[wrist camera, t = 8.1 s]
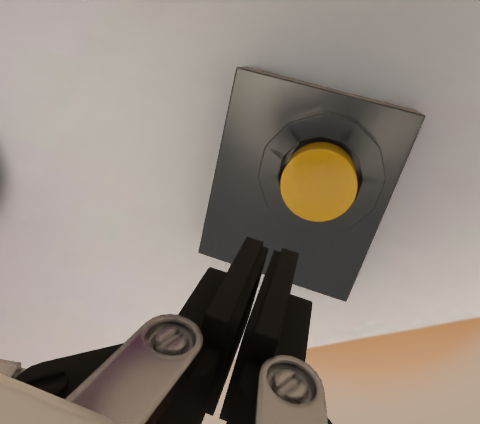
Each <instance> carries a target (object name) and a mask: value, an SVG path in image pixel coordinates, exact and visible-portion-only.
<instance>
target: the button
mask: <svg viewBox="0 0 480 424" xmlns="http://www.w3.org/2000/svg"><path fill="white" fill-rule="evenodd" d="M357 189H358V182H357V175H356V169H355V166H354V163H353V161H352V159H351V157H350V156H349V155H348V153H347V152H346V151H344V150H343V149H342V148H340V147H339V146H337V145H335V144H332V143H328V142H314V143H310V144H307V145H304V146H302V147H301V148H299V149H298V150H297V151H296V152H295V153H294V154H293V155H292V156H291V157H290V159H289V161H288V163H287V165H286V167H285V168H284V170H283V173H282V176H281V180H280V191H281V195H282V198H283V200H284V202H285V204H286V205H287V207H288V208H289V209H290V210H291V211H292V212H293V213H294V214H296V215H297V216H299V217H301V218H303V219H306V220H309V221H315V222H323V221H329V220H332V219H335V218H337V217H339V216H341V215H342V214H343V213H345V212H346V211H347V210H348V209H349V208H350V206H351V205H352V203H353V202H354V200H355V197H356V194H357Z"/></svg>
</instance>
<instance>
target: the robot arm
mask: <svg viewBox="0 0 480 424" xmlns="http://www.w3.org/2000/svg"><path fill="white" fill-rule="evenodd" d="M263 243H264V242H263V241H260V240H257V239H254V238H251V237H248V236H247V237H246V239H245V241H244V243H243V244H242V246H241V248H240V250H239V252H238V254H237V255H236V257H235V259H234V261H233V263H232V264H231V266H230V268H229V270H228V272H227V273H226V272H223V271H220V270H217V269H214V268H211V267H210V268H209V269H208V270H207V271H206V273H205V274H204V276H203V277H202V279H201V280H200V282H199V284H198V285H197V287H196V288H195V290H194V291H193V293H192V294H191V296H190V297H189V299H188V300H187V302H186V304H185V305H184V307H183V308H182V310H181V311H180V313H179V314H178V315H172V314H168V315H160V316H157V317H154V318H152V319H151V320H149V321H148V322H146V323H145V324H144V325H143V326H142V327H141V328H140V329H139V330H138V331H137V332H135V333H134V334H133V335H132V336H131V337H130V338H129V339H128V340H127V341H126V342H125V343H123V344H119V345H115V346H110V347H106V348H102V349H98V350H93V351H89V352H85V353H80V354H76V355H72V356H68V357H63V358H59V359H55V360H50V361H46V362H42V363H39V364H37V365H34V366H31V367H29V368H28V369H23V368H21V363H20V362H14V361H8V360H2V359H0V424H201V423H202V421H203V418H204V415H205V413H207V414H210V415H213V414H214V412H215V409H216V406H217V403H218V401H219V398H220V395H221V392H222V390H223V387H224V384H225V382H226V379H227V376H228V373H229V371H230V368H231V365H232V362H233V360H234V357H235V354H236V352H237V349H238V346H239V343H240V341H241V338H242V335H243V333H244V336H243V339H242V342H241V346H240V349H239V352H238V356H237V359H236V363H235V366H234V369H233V373H232V376H231V380H230V383H229V387H228V390H227V393H226V397H225V400H224V404H223V408H222V410H221V414H220V417H219V418H220V419H222V420H225V421H227V423H226V424H332V423H331V421H330V420H329V419H328V418H327V410H326V401H325V393H324V387H323V384H322V380H321V379H320V377H319V376H318V374H317V372H316V371H315V370H314V369H313V368H312V367H311V366H310V365H308V364H307V363H305V358H306V350H307V342H308V334H309V326H310V318H311V310H312V302H311V301H308V300H305V299H303V298H300V297H297V296H294V295H291V294H290V291H291V287H292V283H293V278H294V274H295V269H296V265H297V261H298V256H299V253H297V252H294V251H291V250H288V249H285V248H282V250H281V252H279V251H276V250H274V252H273V255H272V257H271V260H270V263H269V265H268V268H267V271H266V274H265V276H264V279H263V282H262V285H261V287H260V290H259V293H258V296H257V298H256V301H255V304H254V307H253V309H252V312H251V315H250V311H251V308H252V305H253V301H254V298H255V294H256V291H257V288H258V284H259V281H260V277H261V274H262V271H263V267H264V264H265V260H266V257H267V253H268V250H269V248H267V247H264V246H263ZM249 315H250V318H249ZM248 318H249V320H248ZM247 321H248V323H247ZM246 324H247V326H246ZM245 327H246V329H245ZM244 330H245V332H244Z"/></svg>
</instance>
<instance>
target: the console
mask: <svg viewBox="0 0 480 424" xmlns="http://www.w3.org/2000/svg"><path fill="white" fill-rule="evenodd" d="M424 118H425V115H423V114H421V113H420V112H418V111H416V110H413V109H409V108H405V107H401V106H397V105H393V104H389V103H385V102H382V101H378V100H374V99H370V98H366V97H362V96H358V95H354V94H350V93H346V92H343V91H339V90H335V89H331V88H327V87H323V86H319V85H315V84H311V83H308V82H304V81H300V80H296V79H292V78H288V77H284V76H280V75H276V74H272V73H269V72H265V71H261V70H257V69H253V68H249V67H237V68H236V73H235V78H234V82H233V87H232V92H231V97H230V102H229V107H228V111H227V116H226V121H225V126H224V131H223V136H222V141H221V145H220V150H219V155H218V160H217V165H216V170H215V175H214V179H213V184H212V189H211V194H210V199H209V204H208V209H207V213H206V218H205V223H204V228H203V233H202V238H201V242H200V247H199V253H201V254H204V255H207V256H210V257H213V258H216V259H219V260H222V261H225V262H228V263H231V264H232V263H233V261H234V259H235V257H236V255H237V254H238V252H239V250H240V248H241V246H242V244H243V243H244V241H245V239H246V237H247V236H248V237H251V238H254V239H257V240H260V241H263V242H264V243H263V246H264V247H267V248H269V250H268V253H267V257H266V260H265V264H264V267H263V271H262V274H264V275H265V274H266V271H267V268H268V265H269V263H270V260H271V257H272V255H273V252H274V250H276V251H279V252H281V250H282V248H285V249H288V250H291V251H294V252H297V253H299V256H298V261H297V265H296V269H295V274H294V278H293V283H292V284H294V285H297V286H300V287H303V288H306V289H309V290H312V291H315V292H318V293H321V294H324V295H327V296H330V297H333V298H337V299H340V300H343V301H347V299H348V297H349V294H350V292H351V289H352V287H353V285H354V282H355V280H356V278H357V275H358V273H359V271H360V268H361V266H362V264H363V261H364V259H365V257H366V254H367V252H368V250H369V247H370V245H371V243H372V240H373V238H374V236H375V233H376V231H377V229H378V226H379V224H380V221H381V219H382V217H383V214H384V212H385V210H386V207H387V205H388V203H389V200H390V198H391V196H392V193H393V191H394V189H395V186H396V184H397V182H398V179H399V177H400V175H401V172H402V170H403V168H404V165H405V163H406V161H407V158H408V156H409V153H410V151H411V149H412V146H413V144H414V142H415V139H416V137H417V135H418V132H419V130H420V128H421V125H422V123H423V121H424ZM314 142H328V143H332V144H335V145H337V146H339V147H340V148H342V149H343V150H344V151H346V152H347V153H348V155H349V156H350V157H351V159H352V161H353V163H354V166H355V169H356V175H357V182H358V189H357V194H356V197H355V200H354V202H353V203H352V205H351V206H350V208H349V209H348V210H347V211H346V212H345V213H343V214H342V215H341V216H339V217H337V218H335V219H332V220H329V221H323V222H315V221H309V220H306V219H303V218H301V217H299V216H297V215H296V214H294V213H293V212H292V211H291V210H290V209H289V208H288V207H287V205H286V204H285V202H284V200H283V198H282V195H281V191H280V180H281V176H282V173H283V170H284V168H285V167H286V165H287V163H288V161H289V159H290V157H291V156H292V155H293V154H294V153H295V152H296V151H297V150H298V149H299V148H301V147H302V146H304V145H307V144H310V143H314Z"/></svg>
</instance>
